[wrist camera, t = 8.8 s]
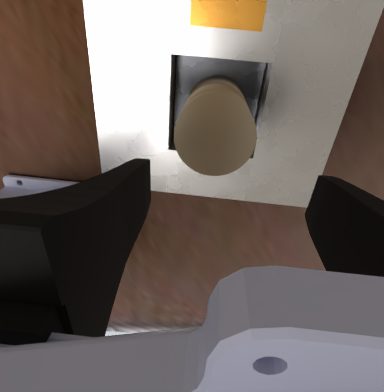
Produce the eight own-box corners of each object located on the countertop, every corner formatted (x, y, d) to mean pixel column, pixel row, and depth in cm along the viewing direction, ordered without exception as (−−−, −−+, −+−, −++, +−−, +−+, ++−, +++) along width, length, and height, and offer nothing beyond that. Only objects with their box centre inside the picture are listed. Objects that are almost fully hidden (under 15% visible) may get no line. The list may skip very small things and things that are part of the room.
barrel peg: (188, 133, 20) (175, 175, 14) (186, 75, 18) (171, 95, 12) (242, 133, 20) (252, 176, 14) (246, 75, 18) (261, 95, 12)
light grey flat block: (111, 173, 23) (102, 185, 21) (94, -23, 16) (78, -31, 14) (302, 194, 22) (309, 208, 20) (368, 0, 15) (388, -4, 14)
